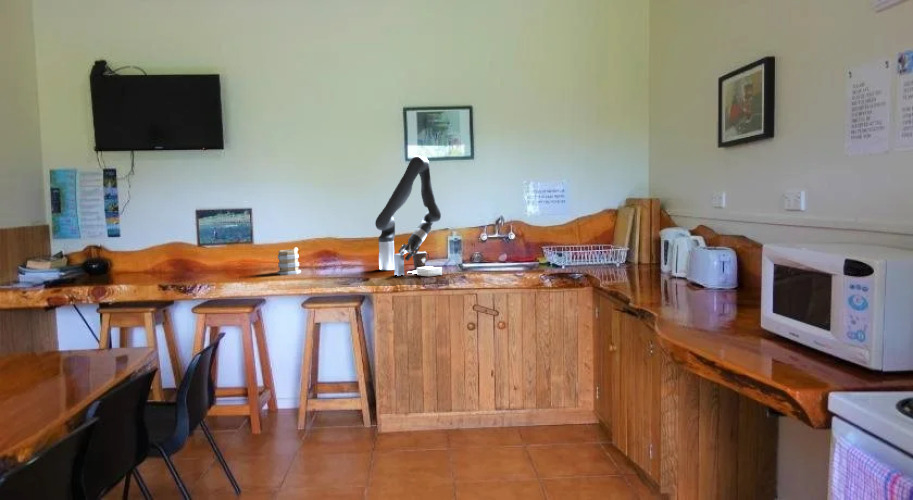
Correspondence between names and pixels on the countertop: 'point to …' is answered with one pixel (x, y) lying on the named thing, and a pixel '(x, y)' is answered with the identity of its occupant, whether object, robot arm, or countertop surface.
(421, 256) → the coffee mug
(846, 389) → the countertop surface
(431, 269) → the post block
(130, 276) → the countertop surface
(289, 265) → the tankard
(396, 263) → the grey rectangular block
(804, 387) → the countertop surface
